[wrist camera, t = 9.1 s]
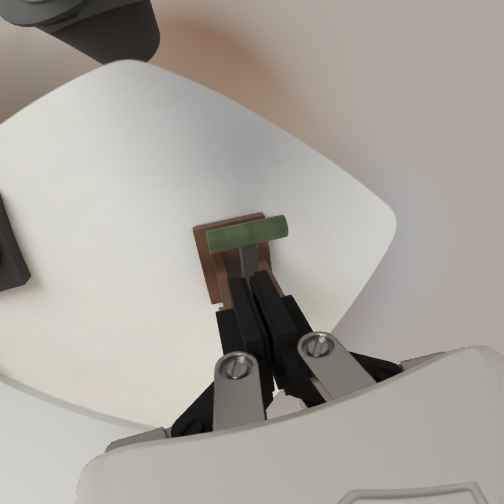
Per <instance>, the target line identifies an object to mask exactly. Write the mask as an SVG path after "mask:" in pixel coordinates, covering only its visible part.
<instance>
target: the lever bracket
mask: <svg viewBox="0 0 504 504" xmlns="http://www.w3.org/2000/svg"><path fill="white" fill-rule="evenodd" d="M264 218H265V216H264V214H263V213H262V212H261V213H257V214H252V215H247V216H242V217H237V218H233V219H228V220H223V221H219V222H214V223H210V224H205V225H201V226H196V227H193V233H194V237H195V241H196V245H197V249H198V253H199V257H200V261H201V265H202V269H203V273H204V277H205V281H206V284H207V288H208V292H209V296H210V299H211V303H212V304H216V303H221V302H223V306H224V307H220V308H219V311H222V310H226V309H231V308H233V307H232V303H231V298H230V293H229V288H228V283H227V278H228V277H233V276H238V275H240V278H242V269H241V261H240V252H239V248H234V249H230V250H225V251H221V252H217V253H212V254H211V253H210V250H209V246H208V241H207V237H206V231H209V230H213V229H218V228H222V227H227V226H231V225H236V224H241V223H245V222H250V221H255V220H259V219H264ZM258 269H259V271H261V270H267V272H268V274H269V276H270V278H271V280H272V281H273V283H274V285H275V287H276V289H277V291H278V293H279V295H280V297H283V296H285V295H284V293H283V292H282V290H281V288H280V286H279V284H278V282H277V281H276V279H275V277H274V275H273V273H272V269H271V261H270V253H269V245H268V241H266V242H261V243H258Z"/></svg>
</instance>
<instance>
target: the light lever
mask: <svg viewBox="0 0 504 504" xmlns="http://www.w3.org/2000/svg"><path fill="white" fill-rule="evenodd" d="M287 236H288V225H287V221H286V219H285V217H284V216H283V215H279V216H274V217H269V218H264V219H259V220H255V221H250V222H245V223H241V224H236V225H231V226H227V227H222V228H218V229H213V230H209V231H206V237H207V241H208V246H209V250H210V253H211V254H212V253H217V252H221V251H225V250H230V249H234V248H239V252H240V261H241V269H242V278H246V281H247V283H248V286H249V289H250V291H251V288H250V282H249V276H253V272H256V271H259V269H258V243H261V242H266V241H270V240H275V239H279V238H284V237H287Z"/></svg>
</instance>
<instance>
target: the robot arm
mask: <svg viewBox="0 0 504 504" xmlns="http://www.w3.org/2000/svg"><path fill="white" fill-rule="evenodd" d="M24 1H26V2H37V1H43V0H24ZM249 282H250V288H251V291H250V289H249V286H248V283H247V281H246V278H240V275H238V276H233V277H228V278H227V283H228V288H229V293H230V298H231V303H232V307H233V308H231V309H226V310H222V311H217V312H216V318H217V323H218V328H219V334H220V339H221V344H222V349H223V354H224V356H223V357H221V358H220V359H219V360H218V362H217V363H216V365H215V373H214V381H213V382H212V383H211V385H210V386H209V387H208V388H207V389H206V390H205V391H204V392H203V393H202V394H201V395H200V396H199V397H198V398H197V399H196V400H195V401H194V403H193V404H192V405H191V406H190V407H189V408H188V409H187V410H186V411H185V412H184V413H183V414H182V415H181V416H180V417H179V418H178V419H177V420H176V421H175V423H174V424H173V425H172V427H170V428H167V429H164V427H161V428H157V429H154V430H151V431H148V432H144V433H141V434H137V435H134V436H130V437H127V438H123V439H119V440H116V441H114V442H112V443H111V444H110V445H109V446H108V447H107V448H106V451H105V453H103V454H101V455H99V456H97V457H95V458H94V459H92V460H91V461H90V462H89V463H88V464H86V466H85V467H84V469H83V470H82V472H81V475H80V478H79V481H78V485H77V491H76V499H75V504H504V357H503V356H502V355H501V354H500V353H498V352H497V351H495V350H494V349H492V348H490V347H487V346H468V347H462V348H459V349H455V350H452V351H449V352H439V353H435V354H431V355H427V356H423V357H419V358H414V359H410V360H405V361H401V362H400V364H399V365H397V364H394V363H392V362H389V361H385V360H381V359H377V358H373V357H369V356H365V355H361V354H357V353H353V352H349V351H347V350H346V349H345V347H344V346H343V345H342V344H341V343H340V342H339V341H338V340H337V339H336V338H335V337H334V336H333V335H331V334H329V333H326V332H321V331H318V332H313V330H312V329H311V327H310V325H309V324H308V322H307V320H306V318H305V317H304V315H303V313H302V311H301V310H300V308H299V306H298V305H297V303H296V301H295V299H294V298H293V296H292V295H288V296H283V297H280V295H279V293H278V291H277V289H276V287H275V285H274V283H273V281H272V280H271V278H270V276H269V274H268V272H267V270H261V271H256V272H253V276H249ZM273 376H274V379H275V382H276V384H277V387H278V389H279V390H280V389H284V392H285V394H286V396H287V395H291V396H294V397H296V398H298V400H299V403H300V405H301V406H302V408H303V410H301V411H298V412H295V413H291V414H288V415H284V416H281V417H277V418H273V419H269V420H267V412H266V409H267V407H268V406H269V405H270V404H271V402H272V401H273V393H272V392H273V391H275V388H274V380H273Z"/></svg>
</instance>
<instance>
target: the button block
mask: <svg viewBox="0 0 504 504" xmlns="http://www.w3.org/2000/svg"><path fill="white" fill-rule="evenodd" d="M30 277H31V275H30V273H29V271H28V269H27V266H26V264H25V262H24V259H23V257H22V255H21V252H20V250H19V247H18V245H17V242H16V240H15V237H14V235H13V232H12V229H11V227H10V224H9V221H8V218H7V215H6V212H5V209H4V206H3V203H2V199H1V196H0V291H3V290H7V289H11V288H14V287H18V286H22V285H25V284H26V282H27V281H28V280H29V278H30Z"/></svg>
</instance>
